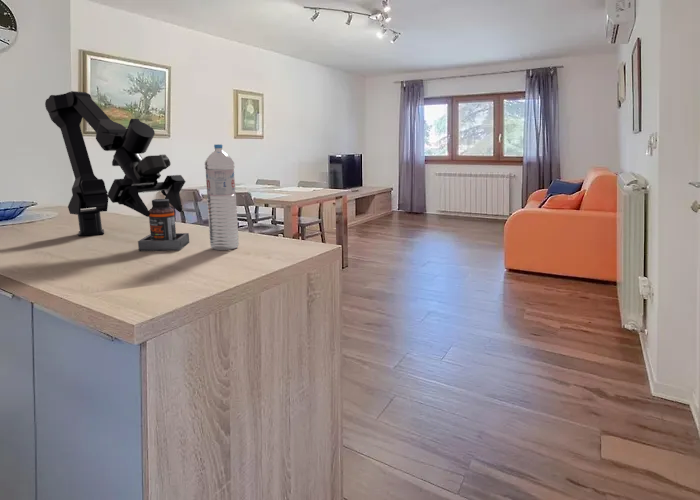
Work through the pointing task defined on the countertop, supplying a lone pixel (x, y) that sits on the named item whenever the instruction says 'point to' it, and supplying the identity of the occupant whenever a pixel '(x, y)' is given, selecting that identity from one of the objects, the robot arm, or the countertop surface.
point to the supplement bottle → (162, 220)
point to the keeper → (164, 243)
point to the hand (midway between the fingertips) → (165, 213)
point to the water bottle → (221, 200)
